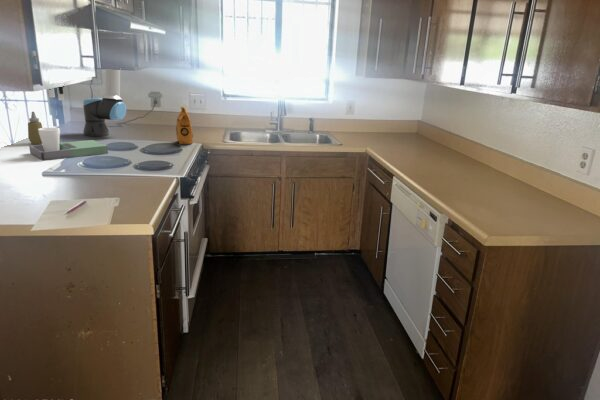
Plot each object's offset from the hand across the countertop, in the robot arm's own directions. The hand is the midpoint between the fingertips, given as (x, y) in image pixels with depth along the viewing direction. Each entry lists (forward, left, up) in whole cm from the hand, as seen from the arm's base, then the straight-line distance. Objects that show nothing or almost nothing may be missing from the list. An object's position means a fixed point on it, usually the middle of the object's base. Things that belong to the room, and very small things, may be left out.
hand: (56, 98), depth 228 cm
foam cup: (+10, +14, -26) cm, 32 cm away
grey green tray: (+1, +14, -27) cm, 30 cm away
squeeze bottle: (+7, -19, -27) cm, 34 cm away
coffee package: (-65, +19, -27) cm, 73 cm away
